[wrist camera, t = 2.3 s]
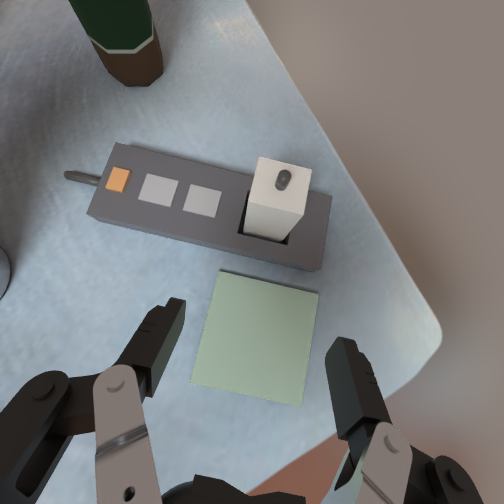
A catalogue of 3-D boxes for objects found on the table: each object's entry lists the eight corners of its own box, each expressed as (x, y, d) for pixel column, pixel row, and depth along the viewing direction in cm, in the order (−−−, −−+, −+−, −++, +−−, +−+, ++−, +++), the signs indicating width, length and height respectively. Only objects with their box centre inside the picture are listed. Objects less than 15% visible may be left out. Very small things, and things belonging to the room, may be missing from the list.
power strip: (52, 210, 27) (31, 199, 24) (81, 144, 29) (65, 127, 26) (312, 272, 28) (321, 268, 25) (324, 204, 30) (333, 194, 27)
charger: (242, 235, 28) (249, 192, 17) (250, 204, 29) (261, 144, 18) (279, 244, 28) (309, 207, 17) (285, 213, 29) (318, 159, 18)
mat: (190, 381, 24) (189, 383, 24) (218, 271, 27) (218, 270, 27) (299, 405, 25) (301, 407, 24) (317, 294, 27) (319, 294, 27)
